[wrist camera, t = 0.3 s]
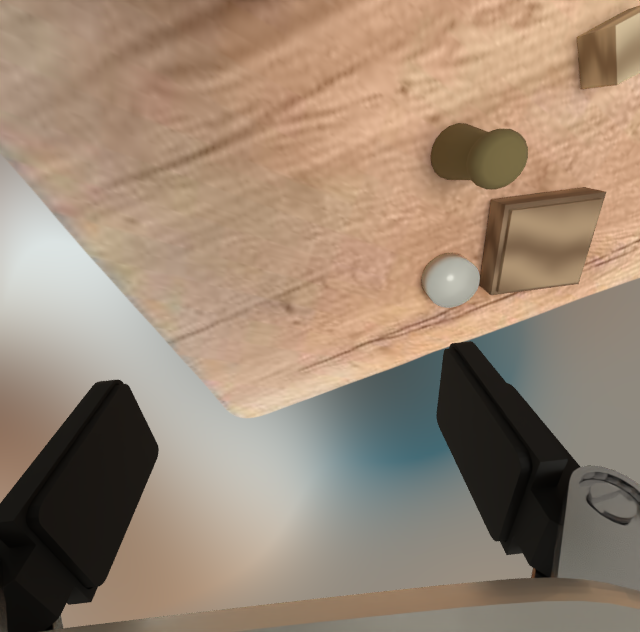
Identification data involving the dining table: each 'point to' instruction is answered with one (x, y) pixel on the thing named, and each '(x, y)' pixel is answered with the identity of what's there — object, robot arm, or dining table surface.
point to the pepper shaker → (479, 155)
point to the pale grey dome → (450, 280)
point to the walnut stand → (539, 239)
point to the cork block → (610, 51)
